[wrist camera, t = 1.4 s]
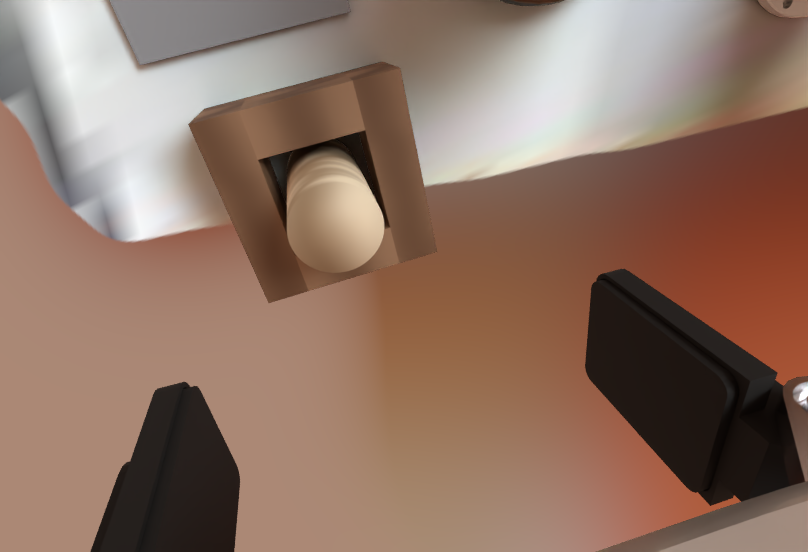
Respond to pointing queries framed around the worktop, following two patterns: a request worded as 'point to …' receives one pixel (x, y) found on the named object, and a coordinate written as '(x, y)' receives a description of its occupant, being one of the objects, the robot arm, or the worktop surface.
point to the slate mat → (210, 22)
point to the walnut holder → (303, 126)
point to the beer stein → (531, 2)
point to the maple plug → (331, 209)
